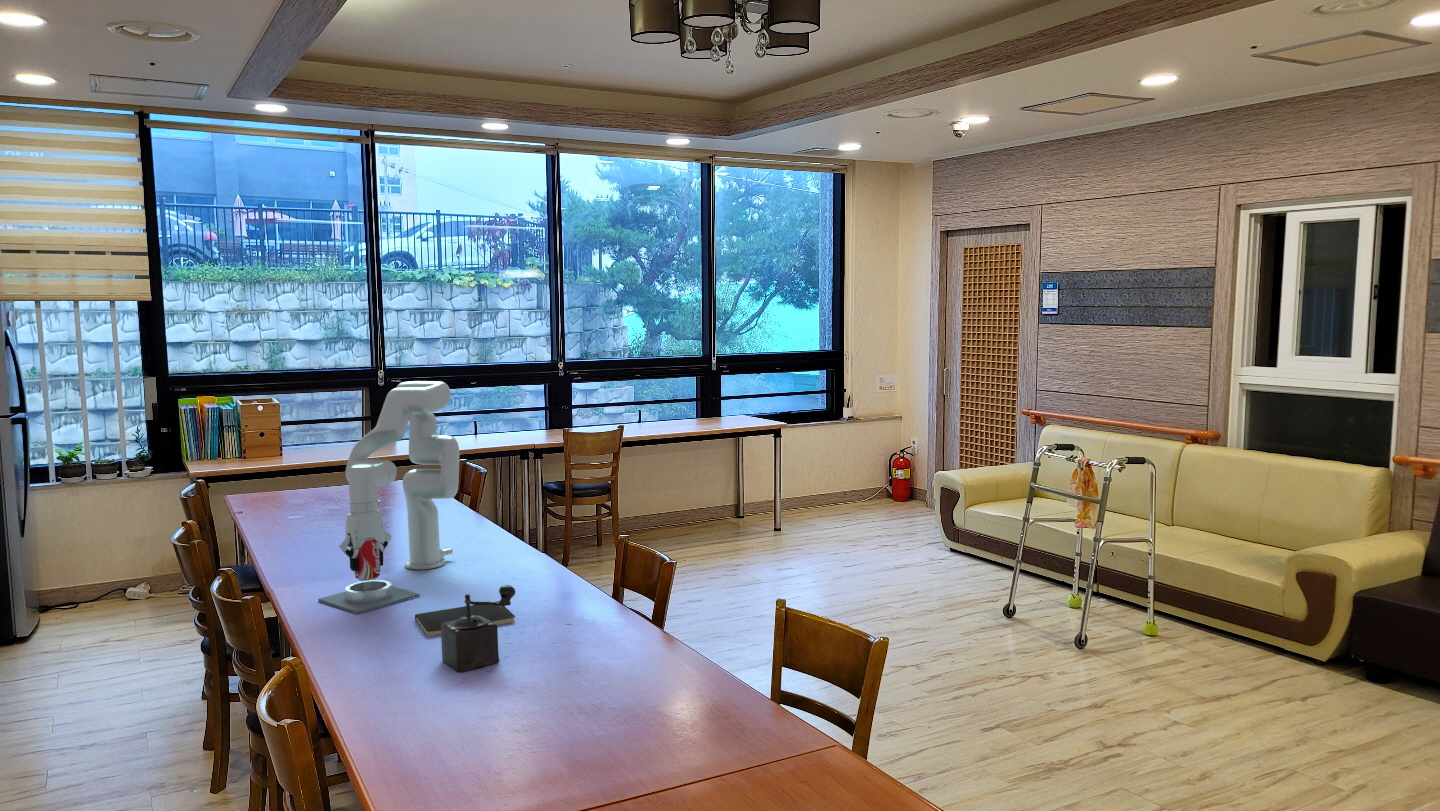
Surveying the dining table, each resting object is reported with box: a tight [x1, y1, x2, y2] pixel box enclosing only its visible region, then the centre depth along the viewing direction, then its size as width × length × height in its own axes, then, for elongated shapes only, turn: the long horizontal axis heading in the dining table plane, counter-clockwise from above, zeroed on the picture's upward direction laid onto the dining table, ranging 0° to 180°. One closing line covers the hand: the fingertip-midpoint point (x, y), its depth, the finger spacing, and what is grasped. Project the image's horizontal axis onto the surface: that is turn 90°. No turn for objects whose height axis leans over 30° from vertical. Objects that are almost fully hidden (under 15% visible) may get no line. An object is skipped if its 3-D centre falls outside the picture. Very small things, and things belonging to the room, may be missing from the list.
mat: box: [318, 585, 420, 615], centre depth 289 cm, size 20×20×1 cm
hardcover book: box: [414, 600, 516, 637], centre depth 268 cm, size 16×23×2 cm
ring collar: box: [345, 579, 392, 603], centre depth 289 cm, size 12×12×3 cm
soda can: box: [354, 538, 381, 582], centre depth 287 cm, size 7×7×12 cm
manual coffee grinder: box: [440, 584, 516, 674], centre depth 238 cm, size 16×11×18 cm
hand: (367, 567), depth 288 cm, fingers closed on soda can, 7 cm apart
